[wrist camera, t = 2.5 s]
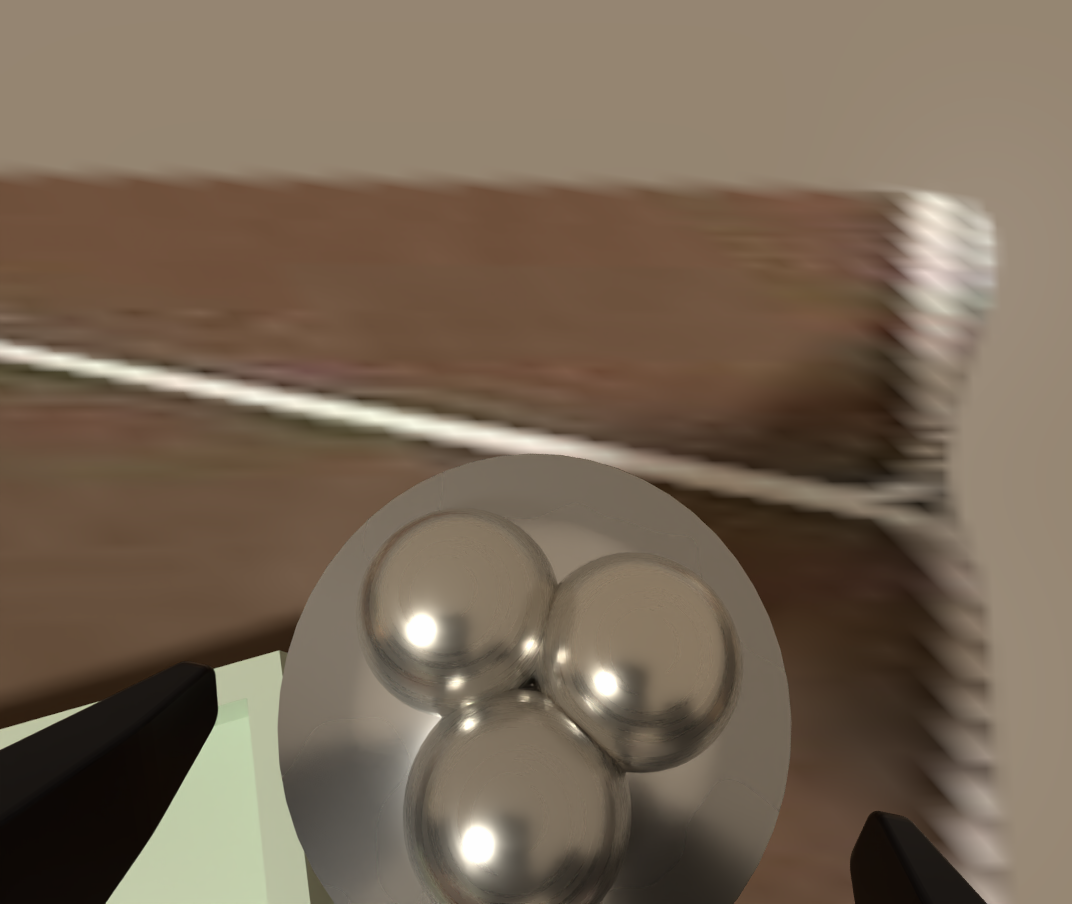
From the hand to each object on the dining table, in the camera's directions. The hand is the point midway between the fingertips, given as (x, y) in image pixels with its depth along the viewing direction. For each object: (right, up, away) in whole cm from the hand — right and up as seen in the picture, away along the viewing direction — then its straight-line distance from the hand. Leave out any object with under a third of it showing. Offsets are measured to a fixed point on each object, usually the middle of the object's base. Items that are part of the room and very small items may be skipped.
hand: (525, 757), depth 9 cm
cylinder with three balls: (0, -3, +8) cm, 9 cm away
